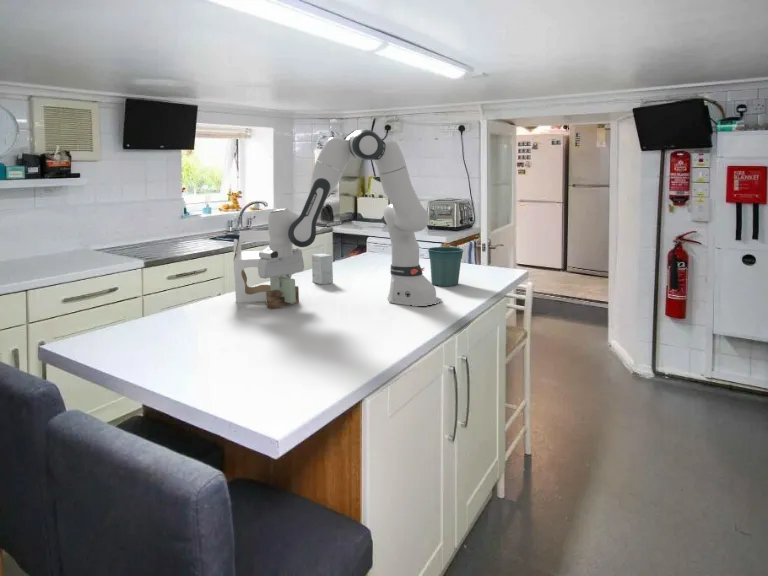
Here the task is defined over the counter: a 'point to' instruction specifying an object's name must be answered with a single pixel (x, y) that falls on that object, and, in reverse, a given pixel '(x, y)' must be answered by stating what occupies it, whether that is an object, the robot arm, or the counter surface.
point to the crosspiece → (285, 288)
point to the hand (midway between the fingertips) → (282, 286)
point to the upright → (279, 299)
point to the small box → (322, 268)
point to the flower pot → (445, 265)
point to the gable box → (246, 261)
